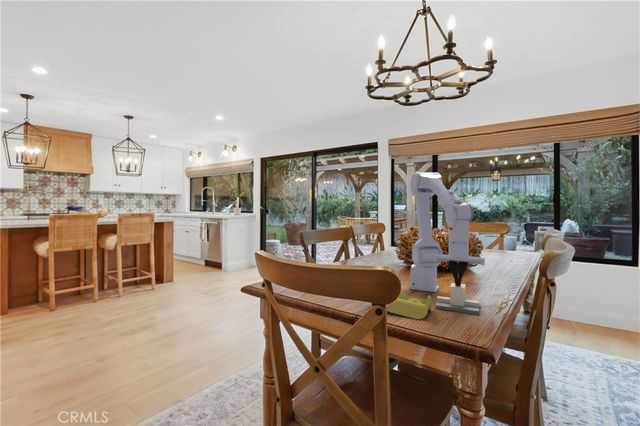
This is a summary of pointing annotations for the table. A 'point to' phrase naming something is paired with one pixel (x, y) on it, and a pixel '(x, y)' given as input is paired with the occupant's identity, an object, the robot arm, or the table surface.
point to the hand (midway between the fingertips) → (458, 285)
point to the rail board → (468, 308)
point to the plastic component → (411, 306)
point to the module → (457, 295)
